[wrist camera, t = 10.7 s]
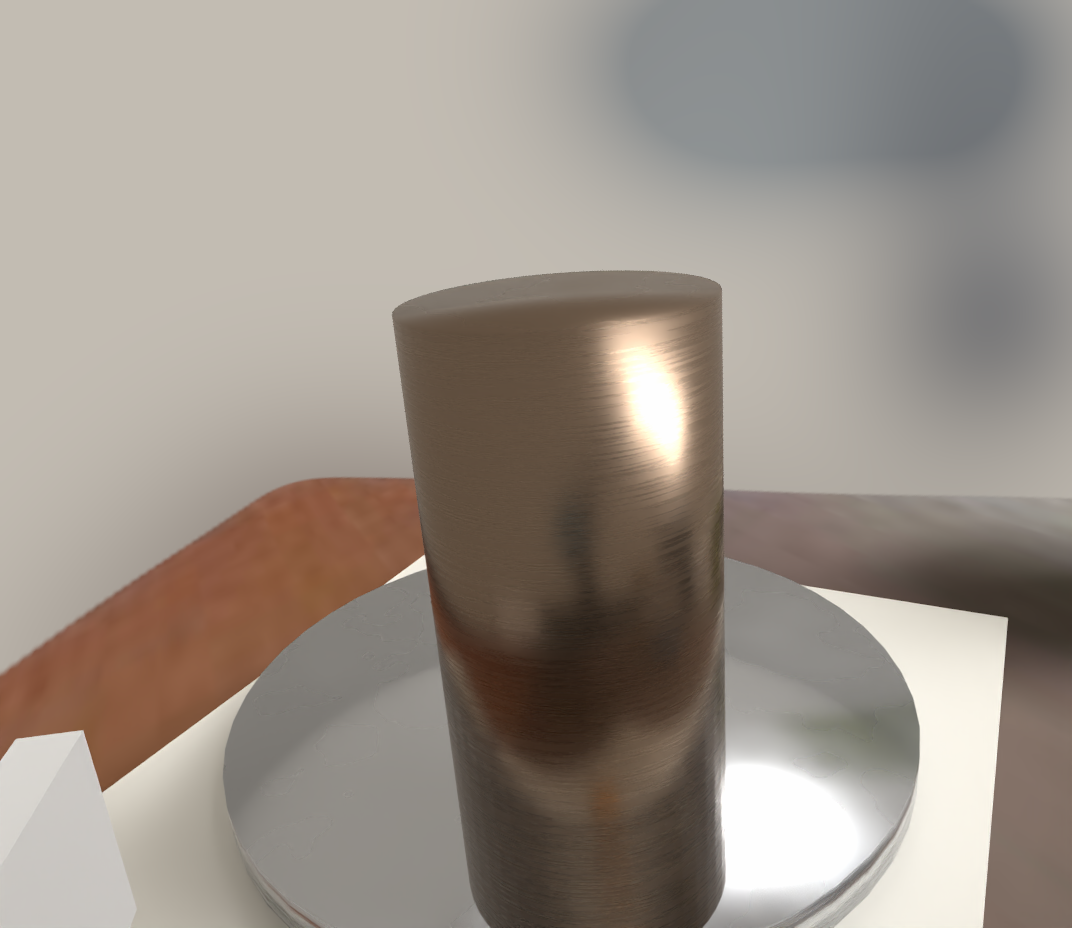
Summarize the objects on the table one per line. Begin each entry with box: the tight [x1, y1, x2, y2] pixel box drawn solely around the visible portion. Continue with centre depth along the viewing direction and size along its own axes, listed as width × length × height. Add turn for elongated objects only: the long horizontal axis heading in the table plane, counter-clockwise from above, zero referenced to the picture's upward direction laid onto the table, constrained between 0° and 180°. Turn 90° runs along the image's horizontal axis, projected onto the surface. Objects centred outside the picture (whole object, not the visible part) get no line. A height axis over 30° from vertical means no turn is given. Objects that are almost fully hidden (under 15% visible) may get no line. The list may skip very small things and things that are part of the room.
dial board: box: [102, 555, 1008, 928], centre depth 24 cm, size 20×20×2 cm
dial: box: [223, 271, 920, 928], centre depth 21 cm, size 17×17×12 cm
